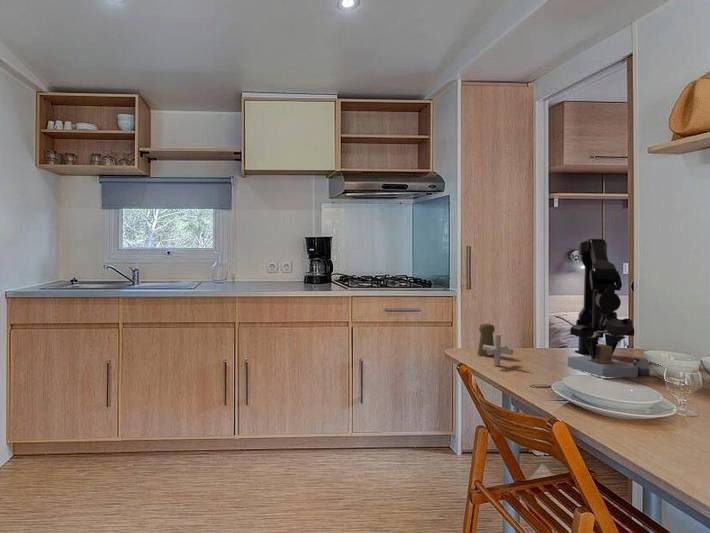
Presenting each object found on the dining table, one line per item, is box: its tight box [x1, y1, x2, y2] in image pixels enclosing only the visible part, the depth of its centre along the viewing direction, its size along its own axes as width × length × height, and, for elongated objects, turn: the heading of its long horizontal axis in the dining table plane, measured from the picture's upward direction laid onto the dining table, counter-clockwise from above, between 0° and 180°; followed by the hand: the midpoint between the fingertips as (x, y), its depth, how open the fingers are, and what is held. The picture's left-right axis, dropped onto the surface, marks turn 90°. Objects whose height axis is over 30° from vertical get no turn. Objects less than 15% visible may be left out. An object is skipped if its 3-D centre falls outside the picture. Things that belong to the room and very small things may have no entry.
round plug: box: [632, 356, 651, 377], centre depth 152 cm, size 4×4×5 cm
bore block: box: [567, 355, 639, 378], centre depth 156 cm, size 16×12×3 cm
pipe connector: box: [482, 333, 514, 367], centre depth 163 cm, size 10×10×10 cm
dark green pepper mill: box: [477, 323, 496, 358], centre depth 178 cm, size 6×6×11 cm
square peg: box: [591, 343, 613, 364], centre depth 156 cm, size 4×4×8 cm
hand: (601, 358), depth 156 cm, fingers open, 5 cm apart
